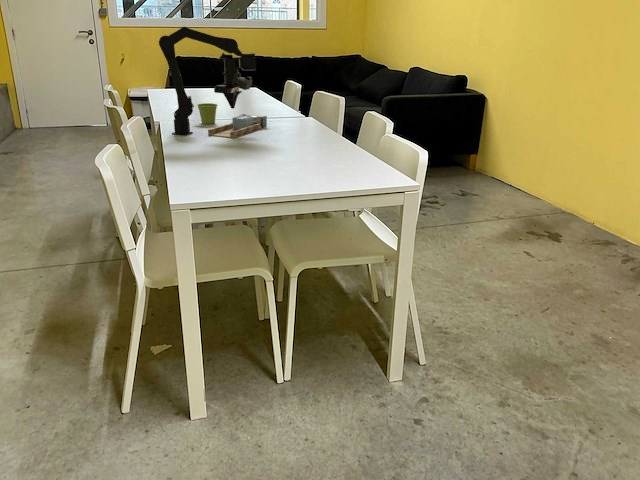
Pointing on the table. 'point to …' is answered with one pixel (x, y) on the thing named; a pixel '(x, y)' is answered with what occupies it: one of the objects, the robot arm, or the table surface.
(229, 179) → the table surface
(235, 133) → the brown tray
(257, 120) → the winch drum
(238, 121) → the grey box
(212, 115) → the plant pot
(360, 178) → the table surface
